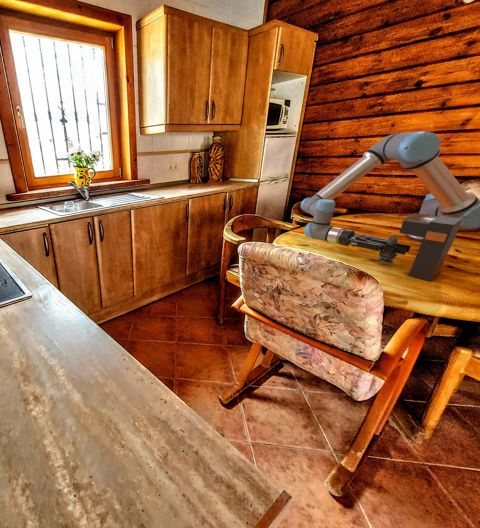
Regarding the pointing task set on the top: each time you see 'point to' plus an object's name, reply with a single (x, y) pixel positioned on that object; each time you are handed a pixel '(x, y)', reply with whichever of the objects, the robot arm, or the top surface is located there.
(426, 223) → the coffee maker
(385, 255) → the dark grey chess piece
